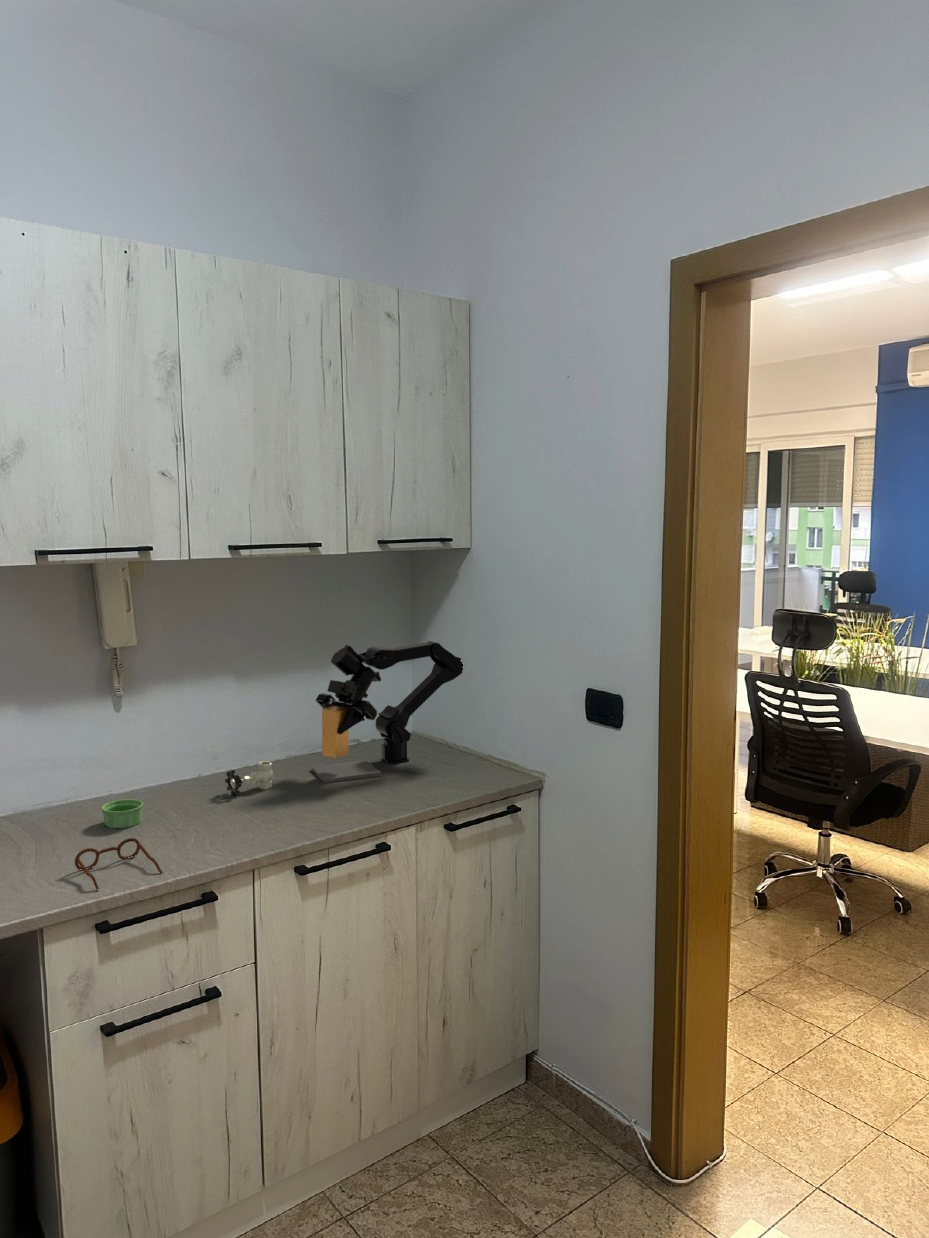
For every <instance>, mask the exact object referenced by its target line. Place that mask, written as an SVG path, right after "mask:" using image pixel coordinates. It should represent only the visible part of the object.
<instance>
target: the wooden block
mask: <svg viewBox="0 0 929 1238" xmlns="http://www.w3.org/2000/svg"><path fill="white" fill-rule="evenodd" d="M346 714H347V708H345V707H340V706H336V705H335V706H331V707H327V708H321V735H322V736H321V738H322V741H321V744H322V745H321V746H322V747H321V748H322V753H321V754H322V756H325V757H328V758H332V759H338V758H342V757H344V756H347V755H349V729H348V730H346V731H345V732H344V733H342V734H339V733H338V730H339V728H340V726H341V724H342V722H343V720H344V718H345V716H346Z"/></svg>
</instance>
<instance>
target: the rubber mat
mask: <svg viewBox="0 0 929 1238" xmlns="http://www.w3.org/2000/svg"><path fill="white" fill-rule="evenodd" d="M310 771H312V773H314V774H315V775H316V777H318V778H319V779H320V780H321V781H322V782H323V784H328V783H336V782H344V781H352V780H359V779H366V778H374V777H382V771H380V770H378V768H377V767H376V766H374V765H373V764H371V763H370V762H369V761H367V759H364V760H356V761H348V762H340V763H339V762H338V763H332V764H322V765H321V764H320V765H314V766H311V770H310Z"/></svg>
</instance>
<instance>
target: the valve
mask: <svg viewBox="0 0 929 1238" xmlns="http://www.w3.org/2000/svg"><path fill="white" fill-rule="evenodd" d="M257 764H258V771H254V772H253V771H252V772H251V773H250V775H245V776H243V777H242V778H241V777H240V774H236V770H234V769H231V770H230V771H226V773H225V774H226V776H227V778H225V779H224V783H225V784H227V787H226V790H227V791H228V792H230V796H236V795H239V794H240V793H241V792H240V790H239V789H240V788H241V787H242V784H244V785H246V784H248V783H252V784H253V785H255V784H256V785H257V784H258V789H259V788H261V789H260V790H268V788H269V789H272V788H273V779H274V772H273V769H272V768H273V767H272V762H271V761H269V760H268V761H267V760H266V761H260V762H258V763H257ZM270 787H271V788H270Z"/></svg>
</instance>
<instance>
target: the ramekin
mask: <svg viewBox="0 0 929 1238" xmlns="http://www.w3.org/2000/svg"><path fill="white" fill-rule="evenodd" d="M143 807H144V802H143V801H141V800H139V799H135V798H130V799H129V798H127V799H126V798H125V799H123V798H122V799H117V800H113V801H109V802H107V803H105V804H103V805H102V806H101V810H102V816H103V821H104V822H103V823H104V826H105V825H106V826H107V828H108V827H110V828H109V829H113V828H122V829H126V828H125V827H129V826H132V827H134V826H133V825H135V826H137V825H139V824H140V823H141V822H142V815H143ZM140 821H141V822H140ZM139 822H140V823H139ZM138 823H139V824H138ZM136 824H137V825H136ZM106 826H105V827H106ZM129 828H130V827H129Z"/></svg>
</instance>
